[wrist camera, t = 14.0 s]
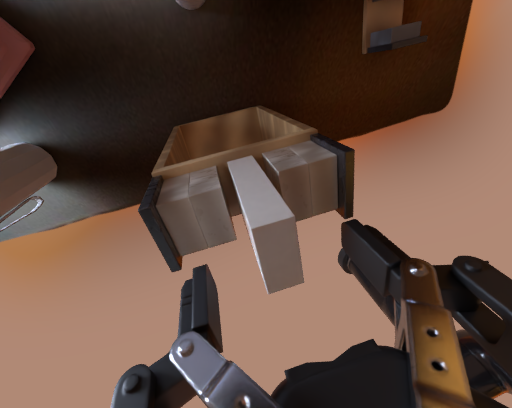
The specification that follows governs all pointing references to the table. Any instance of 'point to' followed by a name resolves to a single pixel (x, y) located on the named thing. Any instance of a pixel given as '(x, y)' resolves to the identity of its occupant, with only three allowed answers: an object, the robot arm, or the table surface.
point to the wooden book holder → (224, 196)
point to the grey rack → (387, 27)
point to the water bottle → (23, 176)
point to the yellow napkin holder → (12, 54)
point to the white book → (267, 225)
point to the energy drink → (190, 3)
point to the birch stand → (225, 134)
